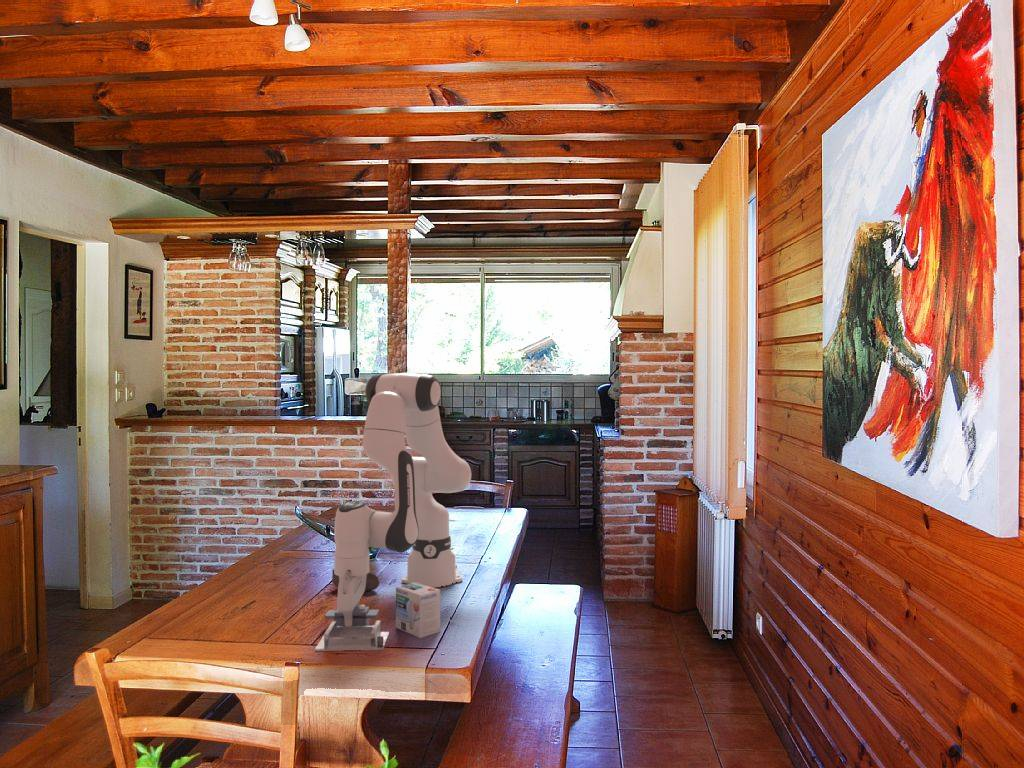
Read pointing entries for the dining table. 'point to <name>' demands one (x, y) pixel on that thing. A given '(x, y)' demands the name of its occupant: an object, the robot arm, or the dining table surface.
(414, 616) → the light bulb box
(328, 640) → the chassis
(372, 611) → the servo
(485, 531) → the dining table surface
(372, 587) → the perforated stone tool
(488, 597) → the dining table surface
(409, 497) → the robot arm
